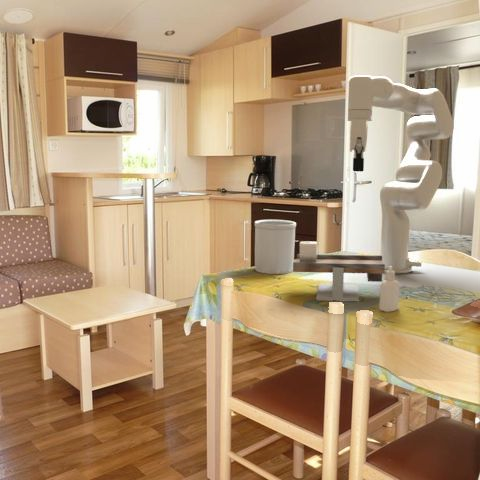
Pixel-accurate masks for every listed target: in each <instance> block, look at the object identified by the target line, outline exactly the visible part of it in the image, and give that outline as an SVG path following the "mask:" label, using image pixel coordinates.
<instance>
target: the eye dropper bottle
mask: <svg viewBox="0 0 480 480" xmlns="http://www.w3.org/2000/svg"><path fill="white" fill-rule="evenodd" d="M379 288H380V289H379V307H378V308H379V309H378V310H379V311H381V312H385V313H386V312H387V313H388V312H394V311H397V310H398V309H399V299H400V283H399V281H397V280H396V273H395V272H394V271H393V270H392V267H391V266H390V267H389V270H388V271H386V273H385V279H383V280H382V282H380V287H379Z"/></svg>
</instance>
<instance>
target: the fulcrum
mask: <svg viewBox="0 0 480 480" xmlns="http://www.w3.org/2000/svg"><path fill="white" fill-rule="evenodd" d="M343 272H344V268H337V267H333V273H332V283H323V282H321V283H320V282H319V285H318V288H317V292H316V298H315V300H316V301H324V302H327V301H328V302H334V301H333V300H341V301H340V302H345V301H359V299H360V298H359V296H360V295H359V285H358V284H350V283H349V284H348V283H346V284H344V274H345V273H343Z"/></svg>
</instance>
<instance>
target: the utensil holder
mask: <svg viewBox="0 0 480 480" xmlns="http://www.w3.org/2000/svg"><path fill="white" fill-rule="evenodd" d="M296 227H297V222H295V221H292V220H285V219H259V220H255V221H254V228H255V229H254V270H255V271H256V272H258V273H261V274H267V275H268V274H269V275H285V274H290V273H292V272H293V262H295V243H296V242H295V241H296Z"/></svg>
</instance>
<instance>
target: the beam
mask: <svg viewBox="0 0 480 480" xmlns="http://www.w3.org/2000/svg"><path fill="white" fill-rule="evenodd" d="M333 267H337V268H344V272H343V273H344V274H366V278H367V282H379V283H382V282H383V275H386V273H385V264H383V261H382V255H381V254H380V255H379V254H377V255H376V254H375V255H372V254H370V255H369V254H367V255H366V254H319V253H317V263H307V262H300V253H298V254H296V260H295V261H294V262H293V271H292V272H294V273H326V274H327V273H332V274H333Z"/></svg>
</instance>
